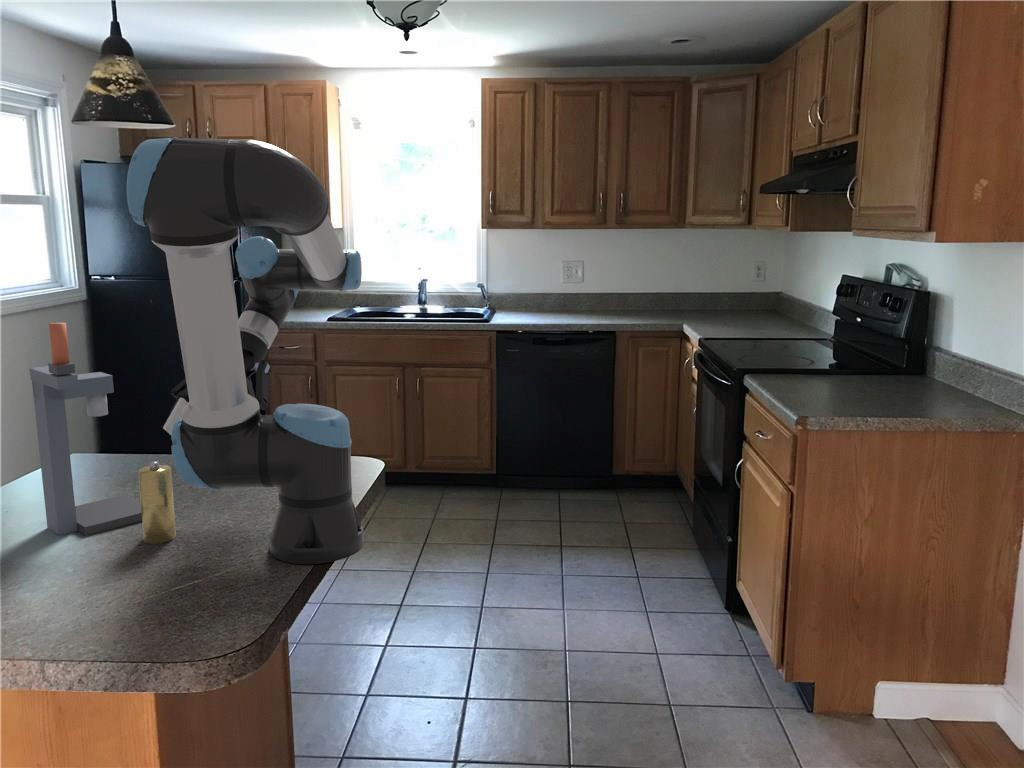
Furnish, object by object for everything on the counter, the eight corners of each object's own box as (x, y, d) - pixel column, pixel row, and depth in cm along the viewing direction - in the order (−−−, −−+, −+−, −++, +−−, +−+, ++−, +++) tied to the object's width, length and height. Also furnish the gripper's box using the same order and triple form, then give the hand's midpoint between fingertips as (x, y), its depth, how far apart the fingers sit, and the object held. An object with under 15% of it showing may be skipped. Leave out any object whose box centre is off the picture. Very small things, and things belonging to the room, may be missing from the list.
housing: (181, 537, 135) (176, 462, 132) (152, 546, 131) (145, 468, 129) (167, 530, 138) (161, 456, 136) (138, 538, 134) (132, 462, 132)
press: (163, 521, 142) (151, 365, 137) (73, 545, 131) (57, 377, 126) (126, 501, 152) (114, 355, 146) (40, 522, 141) (23, 365, 135)
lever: (75, 373, 128) (70, 323, 126) (57, 375, 126) (52, 325, 124) (66, 370, 130) (61, 321, 129) (49, 372, 128) (44, 323, 127)
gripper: (314, 356, 151) (267, 454, 140) (208, 348, 159) (156, 439, 149) (296, 332, 145) (246, 431, 134) (187, 325, 154) (131, 417, 143)
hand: (198, 436), depth 141 cm, fingers open, 13 cm apart
